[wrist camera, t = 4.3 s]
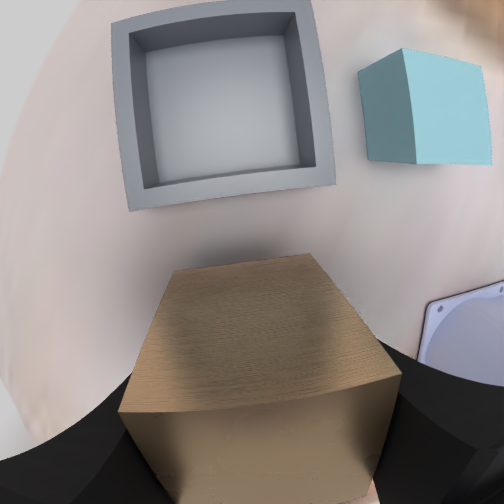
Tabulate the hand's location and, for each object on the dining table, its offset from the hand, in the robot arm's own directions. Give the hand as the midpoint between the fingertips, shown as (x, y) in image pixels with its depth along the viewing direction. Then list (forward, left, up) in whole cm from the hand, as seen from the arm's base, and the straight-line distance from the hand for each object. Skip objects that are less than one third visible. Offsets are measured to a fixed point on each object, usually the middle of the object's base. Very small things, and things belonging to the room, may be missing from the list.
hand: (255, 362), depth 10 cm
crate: (0, -9, -8) cm, 12 cm away
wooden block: (0, 0, -3) cm, 3 cm away
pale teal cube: (-10, -8, -8) cm, 15 cm away
